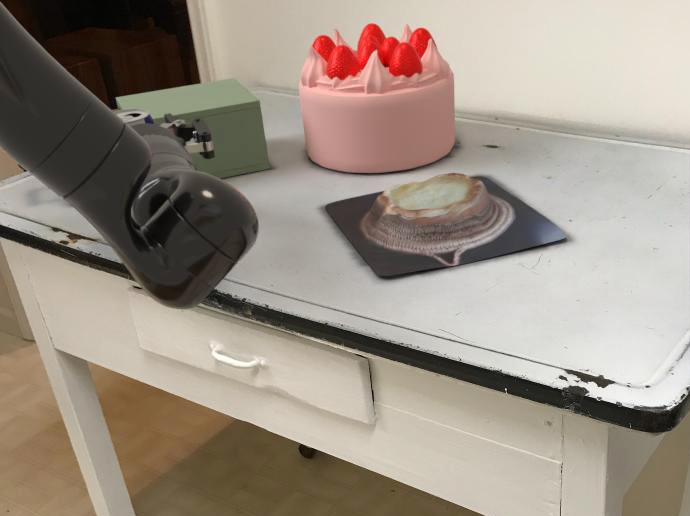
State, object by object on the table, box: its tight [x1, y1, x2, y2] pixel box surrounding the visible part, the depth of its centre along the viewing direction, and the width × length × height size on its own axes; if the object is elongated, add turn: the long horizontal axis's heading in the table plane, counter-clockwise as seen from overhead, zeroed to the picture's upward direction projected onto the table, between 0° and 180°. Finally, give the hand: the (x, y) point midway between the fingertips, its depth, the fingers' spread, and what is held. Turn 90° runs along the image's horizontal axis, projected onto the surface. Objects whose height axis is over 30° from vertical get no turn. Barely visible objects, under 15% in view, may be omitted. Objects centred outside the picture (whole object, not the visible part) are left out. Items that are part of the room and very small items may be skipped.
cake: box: [298, 22, 456, 174], centre depth 109 cm, size 20×20×14 cm
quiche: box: [324, 172, 568, 277], centre depth 91 cm, size 21×20×4 cm
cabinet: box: [115, 77, 270, 179], centre depth 109 cm, size 16×13×9 cm
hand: (128, 130), depth 91 cm, fingers open, 8 cm apart
